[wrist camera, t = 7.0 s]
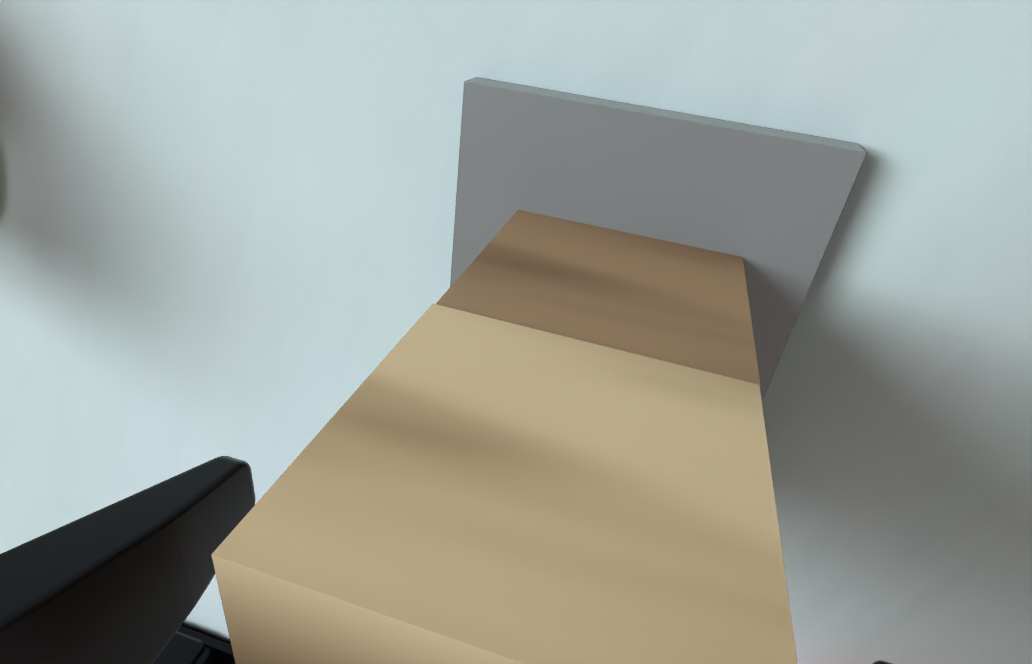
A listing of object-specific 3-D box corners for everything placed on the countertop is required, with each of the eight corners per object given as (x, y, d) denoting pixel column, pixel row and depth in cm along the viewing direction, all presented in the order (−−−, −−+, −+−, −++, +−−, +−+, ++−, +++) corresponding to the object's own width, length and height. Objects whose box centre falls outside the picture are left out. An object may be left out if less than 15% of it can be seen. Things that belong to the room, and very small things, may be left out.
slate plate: (712, 497, 17) (712, 518, 16) (449, 424, 18) (439, 440, 18) (857, 143, 12) (866, 152, 11) (476, 77, 13) (464, 81, 13)
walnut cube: (681, 434, 15) (672, 600, 11) (496, 385, 16) (422, 522, 12) (742, 256, 13) (760, 385, 9) (518, 209, 14) (434, 305, 9)
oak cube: (669, 599, 11) (648, 967, 7) (420, 521, 12) (266, 804, 8) (759, 385, 9) (811, 763, 4) (433, 303, 9) (211, 554, 5)
